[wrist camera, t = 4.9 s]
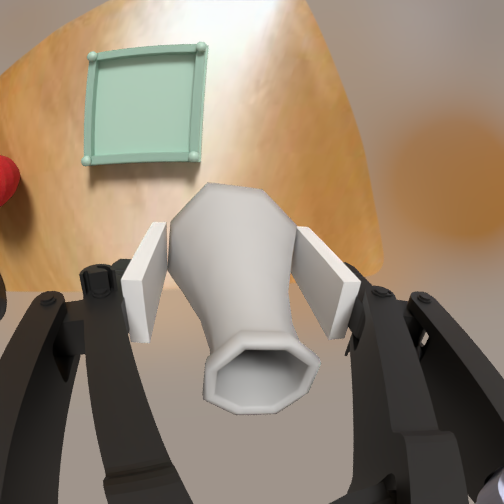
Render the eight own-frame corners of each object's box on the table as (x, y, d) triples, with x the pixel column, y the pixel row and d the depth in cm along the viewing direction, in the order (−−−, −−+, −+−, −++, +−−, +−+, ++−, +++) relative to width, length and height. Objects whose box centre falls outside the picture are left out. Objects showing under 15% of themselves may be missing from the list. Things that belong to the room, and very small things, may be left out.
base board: (90, 164, 26) (80, 167, 24) (96, 57, 22) (86, 51, 19) (201, 160, 28) (199, 163, 25) (208, 48, 23) (208, 40, 21)
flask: (148, 274, 16) (106, 416, 7) (199, 158, 14) (182, 203, 5) (256, 315, 18) (296, 453, 9) (316, 217, 16) (425, 316, 7)
